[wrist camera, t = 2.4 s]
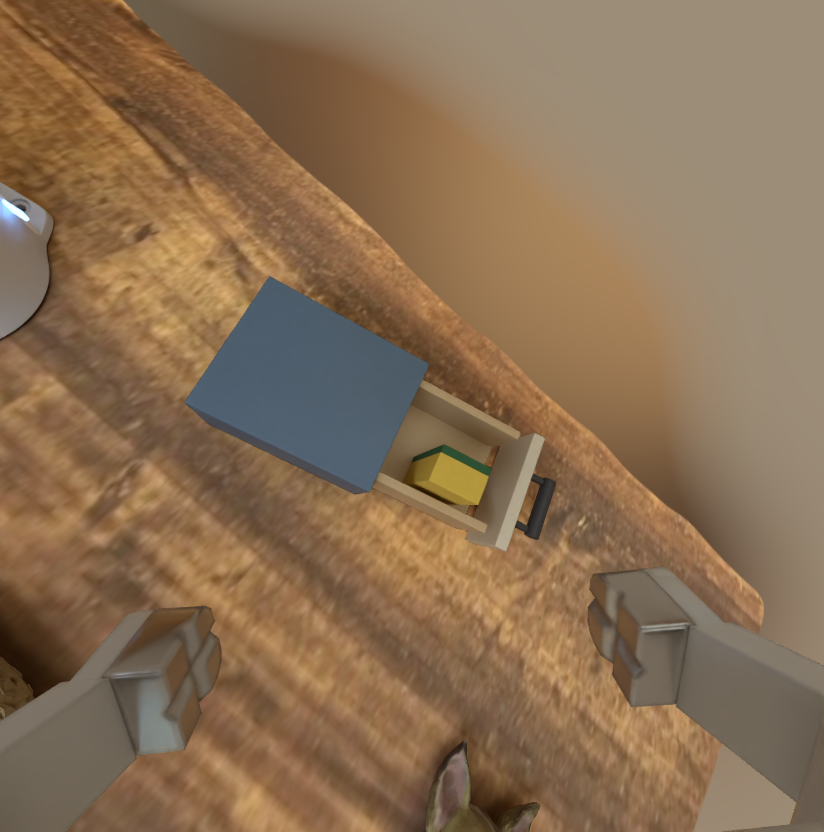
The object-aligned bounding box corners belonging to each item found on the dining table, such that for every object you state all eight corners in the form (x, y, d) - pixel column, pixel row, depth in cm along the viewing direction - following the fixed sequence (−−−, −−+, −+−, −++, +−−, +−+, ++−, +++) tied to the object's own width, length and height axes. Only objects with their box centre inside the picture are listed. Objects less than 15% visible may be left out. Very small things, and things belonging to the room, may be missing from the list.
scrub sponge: (400, 485, 39) (428, 480, 31) (413, 456, 40) (444, 443, 32) (440, 505, 40) (478, 505, 31) (452, 475, 41) (492, 468, 32)
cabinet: (406, 389, 43) (430, 363, 35) (355, 494, 40) (369, 492, 32) (275, 319, 41) (269, 275, 33) (208, 423, 37) (183, 402, 29)
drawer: (541, 464, 45) (581, 457, 39) (509, 560, 42) (546, 571, 35) (396, 386, 42) (412, 366, 36) (348, 483, 39) (357, 479, 33)
